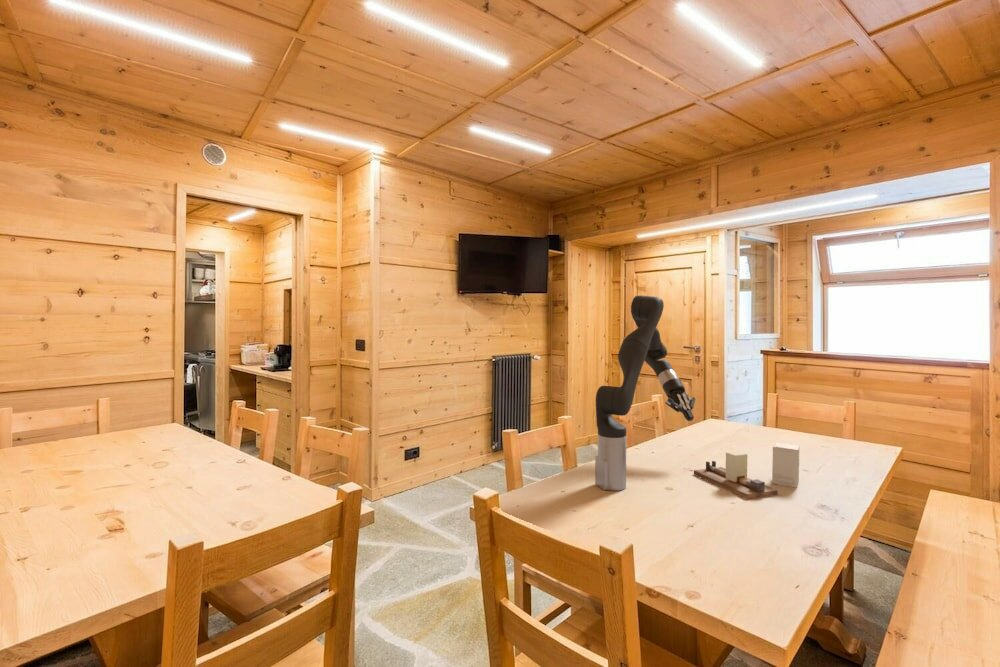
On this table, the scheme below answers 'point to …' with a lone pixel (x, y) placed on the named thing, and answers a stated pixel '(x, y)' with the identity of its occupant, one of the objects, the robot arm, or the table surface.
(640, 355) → the robot arm
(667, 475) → the table surface
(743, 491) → the rail
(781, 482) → the supplement box
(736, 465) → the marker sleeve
